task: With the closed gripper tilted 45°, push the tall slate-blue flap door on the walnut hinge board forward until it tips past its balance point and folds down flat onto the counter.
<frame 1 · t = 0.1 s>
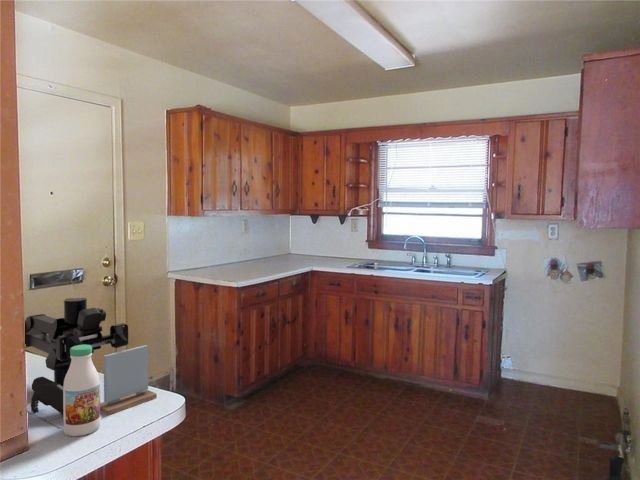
hand: (110, 346, 117), 17 cm above the worktop, tool horizontal, fingers open, 9 cm apart
gun: (58, 416, 114), on the worktop
hinge board: (127, 403, 122), on the worktop
flap door: (127, 374, 121), point 8 cm above the worktop, hinge at 0.0°
milk bottle: (82, 430, 107), on the worktop
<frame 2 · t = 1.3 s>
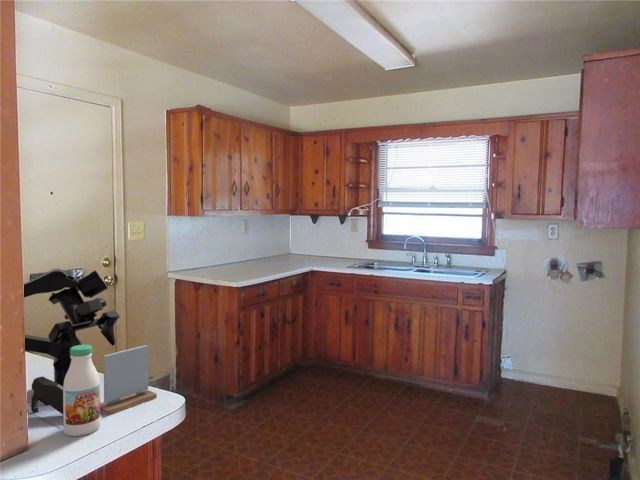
hand: (99, 349, 127), 13 cm above the worktop, tool tilted 45°, fingers open, 9 cm apart
nothing on the worktop moved.
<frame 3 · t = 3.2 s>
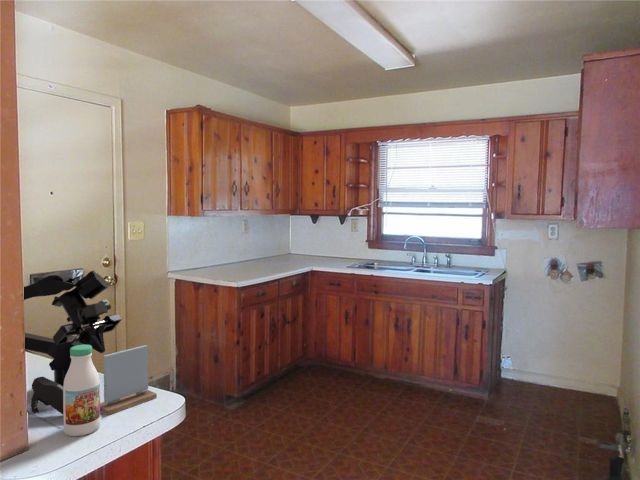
hand: (103, 352, 128), 12 cm above the worktop, tool tilted 45°, fingers closed
nothing on the worktop moved.
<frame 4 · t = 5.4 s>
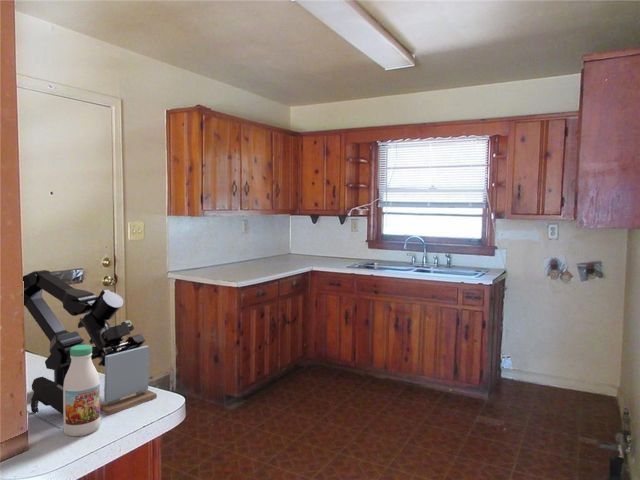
hand: (126, 375, 122), 7 cm above the worktop, tool tilted 45°, fingers closed, pressing on flap door
flap door: (127, 374, 121), point 8 cm above the worktop, hinge at 3.4°, touching gripper
everything else where it was.
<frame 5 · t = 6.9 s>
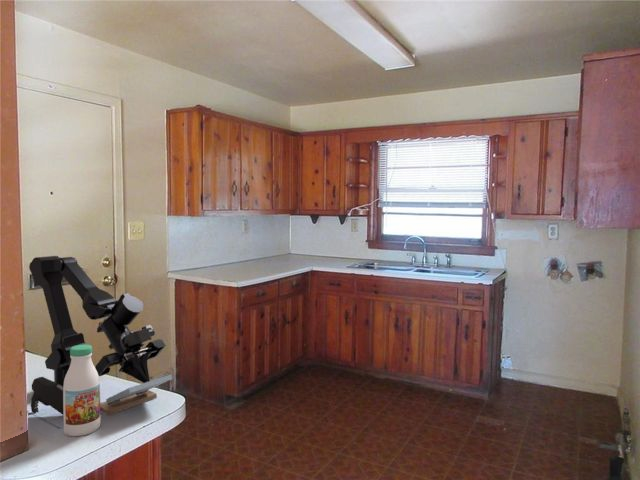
hand: (147, 382, 118), 7 cm above the worktop, tool tilted 45°, fingers closed
flap door: (139, 389, 118), point 5 cm above the worktop, hinge at 62.3°, touching gripper
everything else where it was.
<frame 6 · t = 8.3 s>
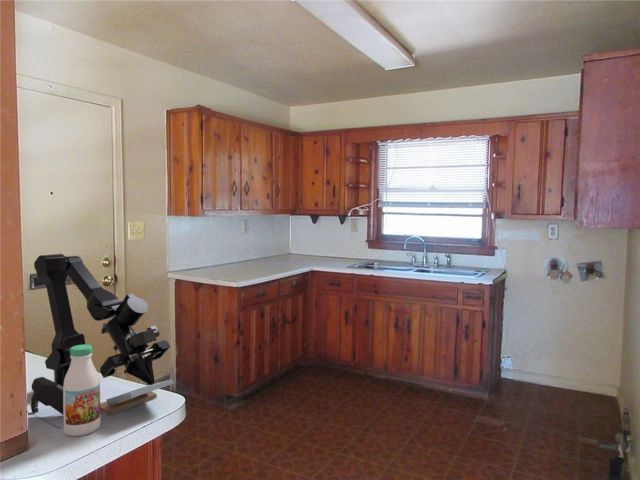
hand: (152, 384, 117), 7 cm above the worktop, tool tilted 45°, fingers closed
flap door: (139, 392, 118), point 5 cm above the worktop, hinge at 68.2°
everything else where it was.
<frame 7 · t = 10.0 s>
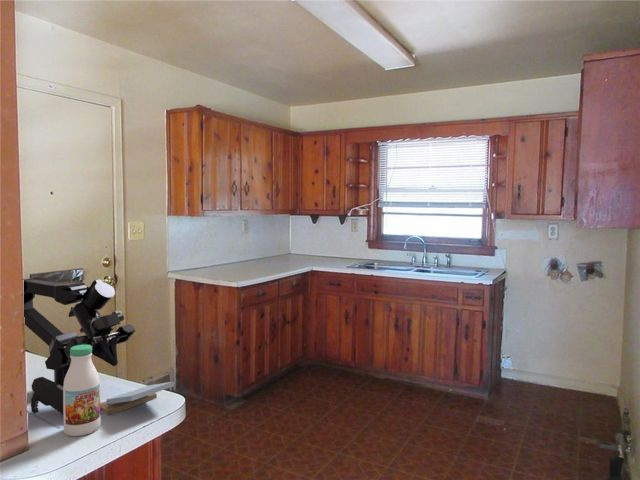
hand: (115, 365, 124), 10 cm above the worktop, tool tilted 45°, fingers closed
flap door: (140, 393, 118), point 4 cm above the worktop, hinge at 71.3°
everything else where it was.
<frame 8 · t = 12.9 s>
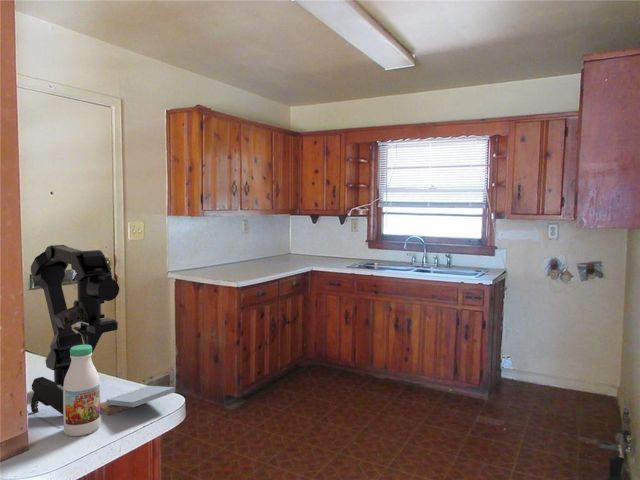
hand: (90, 352, 124), 13 cm above the worktop, tool pointing down, fingers closed
flap door: (140, 396, 118), point 4 cm above the worktop, hinge at 78.3°
everything else where it was.
at the end: flap door at +79° (first picture: +0°); milk bottle moved 0.2 cm from its start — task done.
